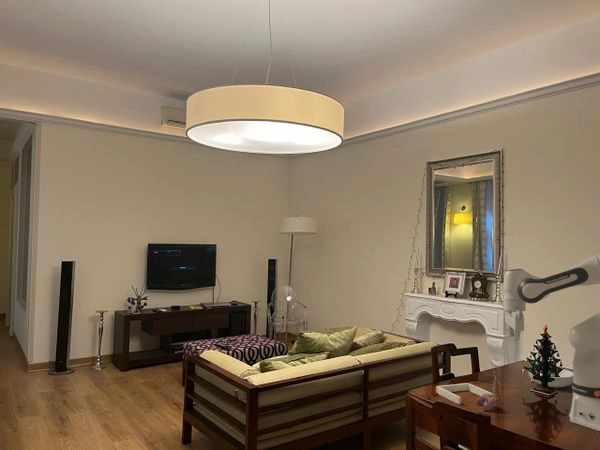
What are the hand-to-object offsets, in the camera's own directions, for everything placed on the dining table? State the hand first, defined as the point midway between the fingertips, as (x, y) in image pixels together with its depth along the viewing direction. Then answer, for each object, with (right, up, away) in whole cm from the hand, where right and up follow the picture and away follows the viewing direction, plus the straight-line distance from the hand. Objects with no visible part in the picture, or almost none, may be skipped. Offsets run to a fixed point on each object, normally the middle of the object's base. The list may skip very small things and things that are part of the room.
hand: (514, 338), depth 205 cm
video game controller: (-13, -30, -1) cm, 32 cm away
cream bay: (-17, -30, +13) cm, 37 cm away
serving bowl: (+33, -32, +33) cm, 57 cm away
